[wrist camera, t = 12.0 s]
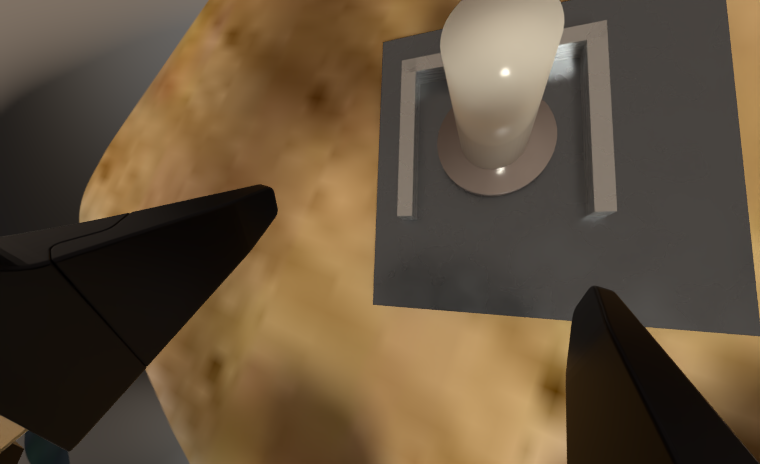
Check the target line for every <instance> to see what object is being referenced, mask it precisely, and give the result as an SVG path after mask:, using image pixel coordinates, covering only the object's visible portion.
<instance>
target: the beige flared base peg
mask: <svg viewBox="0 0 760 464" xmlns="http://www.w3.org/2000/svg"><path fill="white" fill-rule="evenodd" d="M563 29H564V12H563V8H562V5H561V2H560V0H462V1H461V2H460V3H459V4H458V5H457V6H456V7H455V8H454V9H453V11H452V12H451V14H450V15H449V17H448V19H447V20H446V23H445V25H444V27H443V30H442V34H441V40H440V50H441V56H442V61H443V65H444V70H445V75H446V79H447V84H448V89H449V93H450V98H451V103H452V108H451V109H450V111H449V112H448V113H447V115H446V117H445V118H444V120H443V122H442V124H441V126H440V130H439V133H438V139H437V149H438V155H439V159H440V162H441V164H442V166H443V169H444V171H445V172H446V174H447V176H448V177H449V178H450V179H451V181H452V182H453V183H455V184H456V185H457V186H458V187H460V188H461V189H463V190H465V191H467V192H469V193H472V194H475V195H479V196H487V197H496V196H503V195H507V194H511V193H514V192H516V191H519V190H521V189H522V188H524V187H526V186H528V185H529V184H530V183H532V182H533V181H534V180H535V179H536V178H537V177H538V176H539V175H540V174H541V173H542V172H543V170H544V169H545V167H546V166H547V164H548V162H549V160H550V159H551V157H552V154H553V152H554V149H555V146H556V141H557V125H556V121H555V118H554V115H553V113H552V111H551V109H550V108H549V106H548V105H547V104H546V102H545V101H544V100H543V99H542V97H543V93H544V90H545V87H546V84H547V81H548V78H549V74H550V71H551V68H552V65H553V62H554V59H555V56H556V52H557V49H558V46H559V43H560V40H561V37H562V33H563Z"/></svg>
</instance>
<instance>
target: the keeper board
mask: <svg viewBox="0 0 760 464" xmlns="http://www.w3.org/2000/svg"><path fill="white" fill-rule="evenodd" d="M561 5H562V8H563V12H564V29H563V33H562V37H561V40H560V43H559V46H558V49H557V52H556V56H555V59H554V62H553V65H552V68H551V71H550V74H549V78H548V81H547V84H546V87H545V90H544V93H543V97H542V99H543V100H544V101H545V102H546V104H547V105H548V106H549V108H550V109H551V111H552V113H553V115H554V118H555V121H556V125H557V141H556V146H555V149H554V152H553V154H552V157H551V159H550V160H549V162H548V164H547V166H546V167H545V169H544V170H543V172H542V173H541V174H540V175H539V176H538V177H537V178H536V179H535V180H534V181H533V182H532V183H530V184H529V185H528V186H526V187H524V188H522V189H521V190H519V191H516V192H514V193H511V194H507V195H503V196H496V197H487V196H479V195H475V194H472V193H469V192H467V191H465V190H463V189H461V188H460V187H458V186H457V185H456V184H455V183H453V182H452V181H451V179H450V178H449V177H448V176H447V174H446V172H445V171H444V169H443V166H442V164H441V162H440V159H439V155H438V149H437V139H438V133H439V130H440V126H441V124H442V122H443V120H444V118H445V117H446V115H447V113H448V112H449V111H450V109H451V108H452V103H451V98H450V93H449V89H448V84H447V79H446V75H445V70H444V65H443V61H442V56H441V50H440V40H441V34H442V30H443V29H440V30H436V31H432V32H427V33H423V34H418V35H414V36H409V37H405V38H400V39H396V40H391V41H387V42H383V62H382V87H381V113H380V139H379V164H378V190H377V216H376V241H375V267H374V293H373V305H383V306H396V307H408V308H420V309H432V310H445V311H457V312H469V313H481V314H494V315H506V316H518V317H530V318H543V319H555V320H567V321H572V317H573V312H574V310H575V308H576V306H577V304H578V303H579V302H580V300H581V299H582V297H583V296H584V295H585V293H586V292H587V290H588V289H589V288H590V287H591V286H599V287H603V288H606V289H609V290H612V291H614V292H615V293H616V294H617V295H618V296H619V297H620V299H621V300H622V301H623V302H624V303H625V304H626V306H627V307H628V308H629V309H630V310H631V312H632V313H633V314H634V315H635V316H636V317H637V319H638V320H639V321H640V322H641V323H642V325H643V326H644V327H653V328H665V329H678V330H690V331H702V332H714V333H727V334H739V335H751V336H760V319H759V310H758V300H757V291H756V281H755V272H754V262H753V253H752V243H751V233H750V224H749V214H748V205H747V195H746V186H745V176H744V167H743V157H742V148H741V138H740V129H739V119H738V110H737V100H736V91H735V81H734V72H733V62H732V53H731V43H730V33H729V24H728V14H727V5H726V0H570V1H565V2H561Z"/></svg>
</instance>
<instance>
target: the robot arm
mask: <svg viewBox="0 0 760 464" xmlns="http://www.w3.org/2000/svg"><path fill="white" fill-rule="evenodd" d="M277 212H278V208H277V203H276V198H275V194H274V190H273V189H272V188H271V187H268V186H265V185H261V184H259V185H254V186H250V187H245V188H240V189H236V190H231V191H227V192H222V193H218V194H213V195H208V196H204V197H199V198H195V199H190V200H186V201H181V202H176V203H172V204H167V205H163V206H158V207H153V208H149V209H144V210H140V211H135V212H132V213H126V214H121V215H117V216H112V217H107V218H102V219H98V220H93V221H88V222H82V223H77V224H73V225H67V226H61V227H55V228H50V229H44V230H38V231H33V232H27V233H21V234H16V235H10V236H5V237H0V464H18V461H19V459H20V457H21V455H22V452H23V450H24V448H23V447H22V446H20V445H19V444H18V443H17V442H16V440H17V439H18V438H19V437H21V436H22V435H23V434H24V433H26V432H27V431H28V430H29V431H31V432H33V433H35V434H36V435H38V436H40V437H42V438H44V439H46V440H48V441H50V442H51V443H53V444H55V445H57V446H59V447H61V448H63V449H65V450H66V451H68V452H69V451H71V450H72V449H73V448H74V447H75V446H76V445H77V444H78V443H79V442H80V441H81V440H82V439H83V438H84V437H85V436H86V435H87V434H88V432H89V431H90V430H91V429H92V428H93V427H94V426H95V425H96V423H97V422H98V421H99V420H100V419H101V418H102V417H103V415H105V413H106V412H107V411H108V410H109V409H110V408H111V407H112V406H113V405H114V403H115V402H116V401H117V400H118V399H119V398H120V397H121V396H122V394H123V393H124V392H125V391H126V390H127V389H128V388H129V387H130V386H131V384H132V383H133V382H134V381H135V380H136V379H137V378H138V377H139V375H140V374H141V373H142V372H143V371H144V370H145V369H146V366H148V365H149V364H150V363H151V362H152V361H153V359H154V358H155V357H156V356H157V355H158V354H159V353H160V352H161V351H162V349H163V348H164V347H165V346H166V345H167V344H168V343H169V342H170V341H171V339H172V338H173V337H174V336H175V335H176V334H177V333H178V332H179V330H180V329H181V328H182V327H183V326H184V325H185V324H186V323H187V322H188V320H189V319H190V318H191V317H192V316H193V315H194V314H195V313H196V312H197V310H198V309H199V308H200V307H201V306H202V305H203V304H204V303H205V301H206V300H207V299H208V298H209V297H210V296H211V295H212V294H213V293H214V291H215V290H216V289H217V288H218V287H219V286H220V285H221V284H222V283H223V281H224V280H225V279H226V278H227V277H228V276H229V275H230V274H231V273H232V271H233V270H234V269H235V268H236V267H237V266H238V265H239V264H240V262H241V261H242V260H243V259H244V258H245V257H246V256H247V255H248V253H249V252H250V251H251V250H252V248H253V247H254V246H255V244H256V243H257V242H258V240H259V239H260V238H261V236H262V235H263V234H264V232H265V231H266V229H267V228H268V227H269V225H270V224H271V223H272V221H273V220H274V218H275V217H276V215H277ZM566 429H567V464H760V463H759V462H758V461H757V460H756V459H755V457H754V456H753V455H752V454H751V453H750V451H749V450H748V449H747V448H746V447H745V445H744V444H743V443H742V442H741V441H740V440H739V438H738V437H737V436H736V435H735V434H734V432H733V431H732V430H731V429H730V428H729V427H728V425H727V424H726V423H725V422H724V421H723V419H722V418H721V417H720V416H719V415H718V413H717V412H716V411H715V410H714V409H713V408H712V406H711V405H710V404H709V403H708V402H707V400H706V399H705V398H704V397H703V396H702V395H701V393H700V392H699V391H698V390H697V389H696V387H695V386H694V385H693V384H692V383H691V381H690V380H689V379H688V378H687V377H686V376H685V374H684V373H683V372H682V371H681V370H680V368H679V367H678V366H677V365H676V364H675V363H674V361H673V360H672V359H671V358H670V357H669V355H668V354H667V353H666V352H665V351H664V349H663V348H662V347H661V346H660V345H659V344H658V342H657V341H656V340H655V339H654V338H653V336H652V335H651V334H650V333H649V332H648V331H647V329H646V328H645V327H644V326H643V325H642V323H641V322H640V321H639V320H638V319H637V317H636V316H635V315H634V314H633V313H632V312H631V310H630V309H629V308H628V307H627V306H626V304H625V303H624V302H623V301H622V300H621V299H620V297H619V296H618V295H617V294H616V293H615V292H614V291H612V290H609V289H606V288H603V287H599V286H591V287H590V288H589V289H588V290H587V292H586V293H585V295H584V296H583V297H582V299H581V300H580V302H579V303H578V304H577V306H576V308H575V310H574V312H573V317H572V325H571V333H570V342H569V350H568V358H567V368H566Z"/></svg>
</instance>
